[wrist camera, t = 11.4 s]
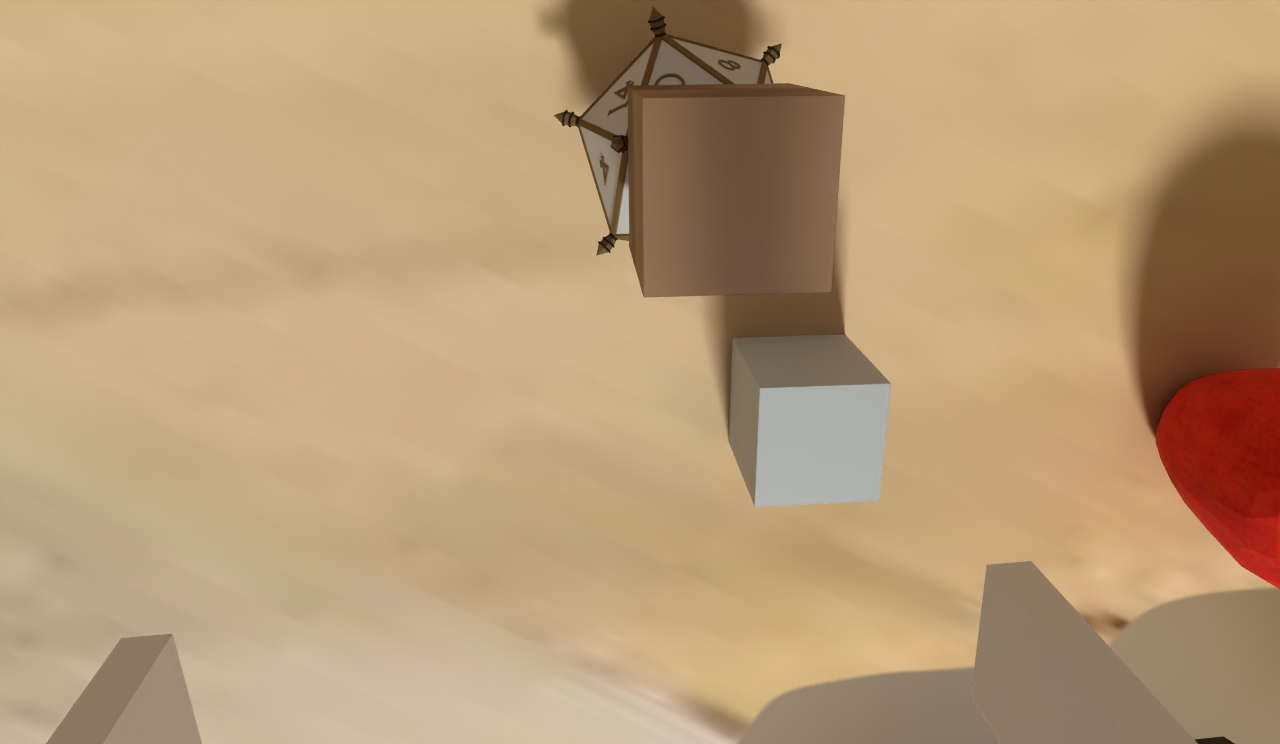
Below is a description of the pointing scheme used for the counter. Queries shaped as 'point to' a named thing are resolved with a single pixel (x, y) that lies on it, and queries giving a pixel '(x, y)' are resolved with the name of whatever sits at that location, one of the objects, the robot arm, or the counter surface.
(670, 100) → the walnut block
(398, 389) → the counter surface
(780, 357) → the grey-blue block
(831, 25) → the counter surface
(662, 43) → the game die
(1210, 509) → the red rounded piece
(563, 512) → the counter surface
